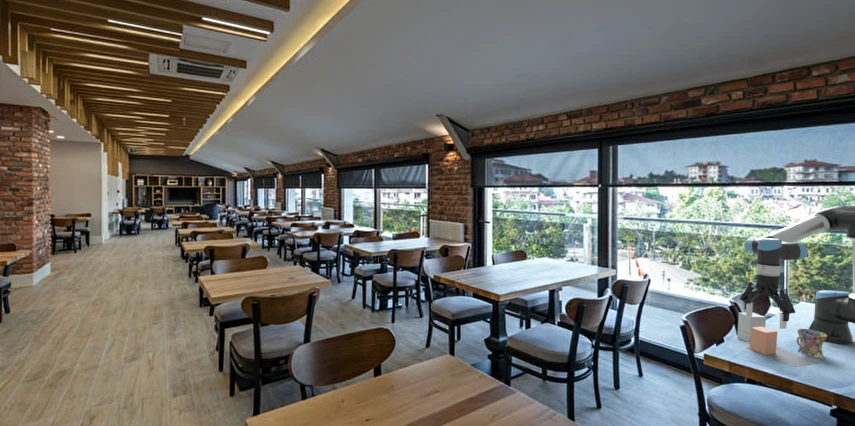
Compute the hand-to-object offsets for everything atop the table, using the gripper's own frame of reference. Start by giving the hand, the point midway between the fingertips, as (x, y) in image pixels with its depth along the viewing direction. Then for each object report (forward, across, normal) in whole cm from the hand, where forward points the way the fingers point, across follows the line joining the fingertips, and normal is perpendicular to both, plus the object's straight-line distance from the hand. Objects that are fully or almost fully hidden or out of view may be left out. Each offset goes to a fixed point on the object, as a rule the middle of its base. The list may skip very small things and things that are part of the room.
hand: (765, 322), depth 170 cm
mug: (+14, +6, +16) cm, 23 cm away
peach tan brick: (+13, 0, 0) cm, 13 cm away
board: (+14, +5, +3) cm, 15 cm away
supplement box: (+14, -13, +11) cm, 22 cm away
